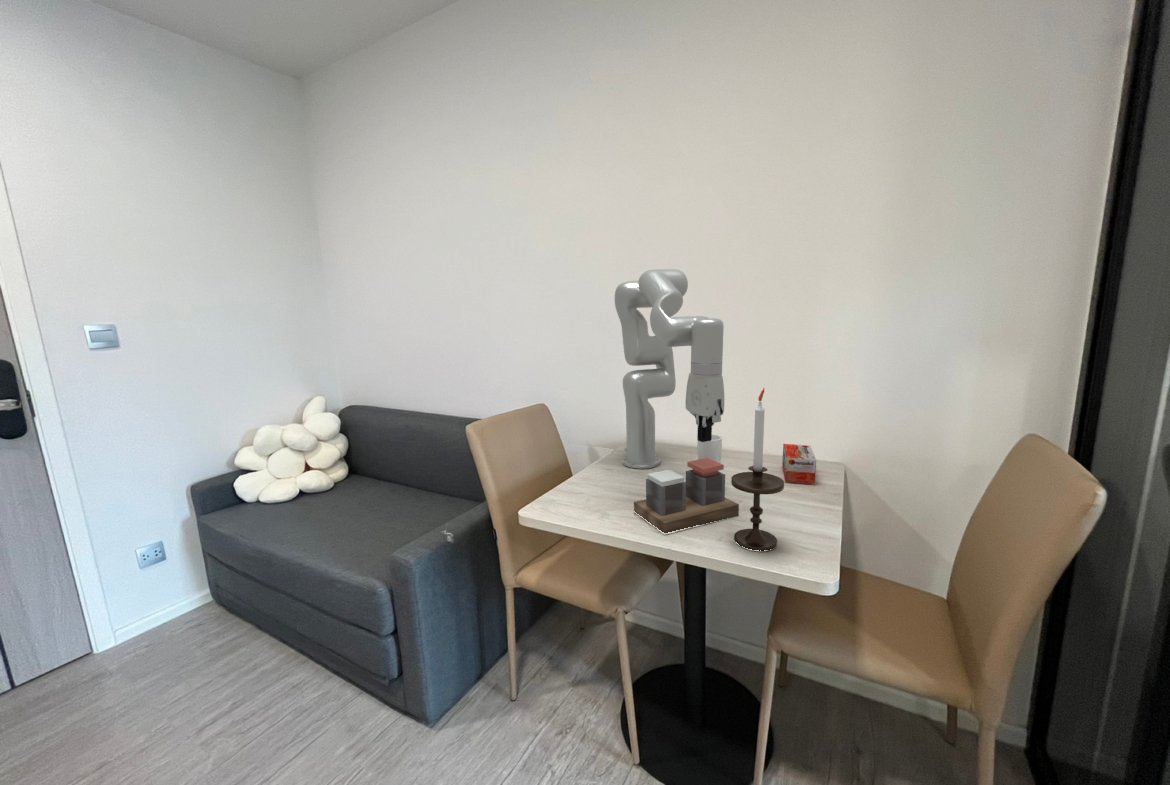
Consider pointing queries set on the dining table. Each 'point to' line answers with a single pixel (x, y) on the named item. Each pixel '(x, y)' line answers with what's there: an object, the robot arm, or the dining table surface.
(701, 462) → the red plunger
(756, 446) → the candlestick
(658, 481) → the grey plunger
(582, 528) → the dining table surface
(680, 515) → the board
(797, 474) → the medicine box
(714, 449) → the drinking glass
